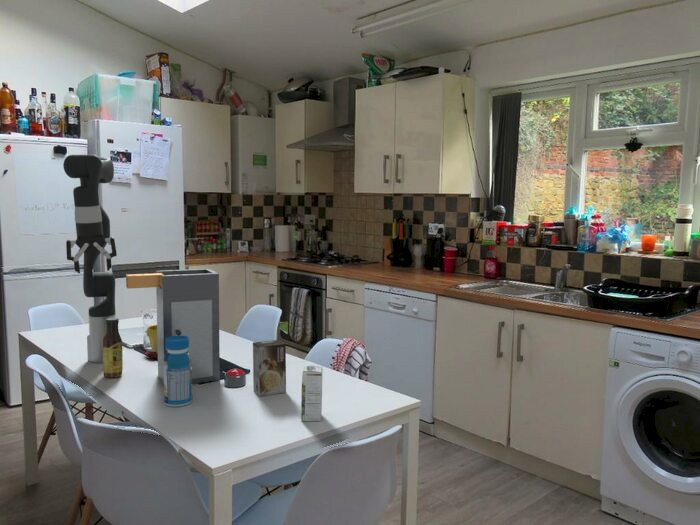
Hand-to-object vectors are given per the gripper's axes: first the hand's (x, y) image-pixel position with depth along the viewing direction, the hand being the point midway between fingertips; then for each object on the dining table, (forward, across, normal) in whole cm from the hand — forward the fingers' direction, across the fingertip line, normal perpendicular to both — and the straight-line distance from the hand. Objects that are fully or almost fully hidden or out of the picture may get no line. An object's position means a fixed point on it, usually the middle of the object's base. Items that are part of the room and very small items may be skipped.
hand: (93, 271), depth 183 cm
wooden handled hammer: (+7, -22, 0) cm, 23 cm away
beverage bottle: (+37, -20, +26) cm, 50 cm away
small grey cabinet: (+39, -26, +3) cm, 47 cm away
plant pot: (+43, -22, -36) cm, 60 cm away
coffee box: (+39, -48, +27) cm, 67 cm away
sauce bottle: (+39, -3, -8) cm, 40 cm away
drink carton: (+37, -53, +52) cm, 83 cm away
